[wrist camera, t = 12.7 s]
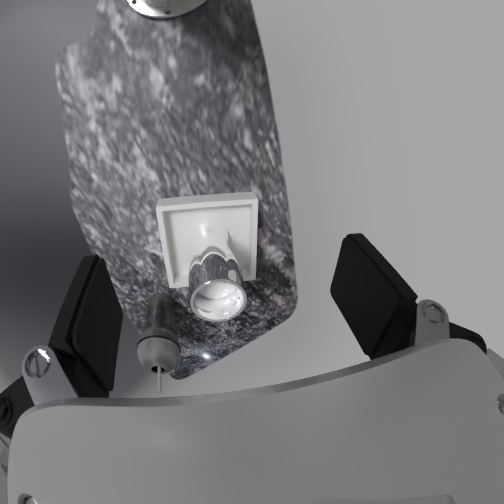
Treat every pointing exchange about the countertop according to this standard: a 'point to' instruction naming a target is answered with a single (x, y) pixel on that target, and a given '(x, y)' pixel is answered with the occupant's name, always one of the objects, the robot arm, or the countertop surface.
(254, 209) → the tray
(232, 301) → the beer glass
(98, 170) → the countertop surface
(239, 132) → the countertop surface
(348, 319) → the robot arm
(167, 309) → the beverage cup
